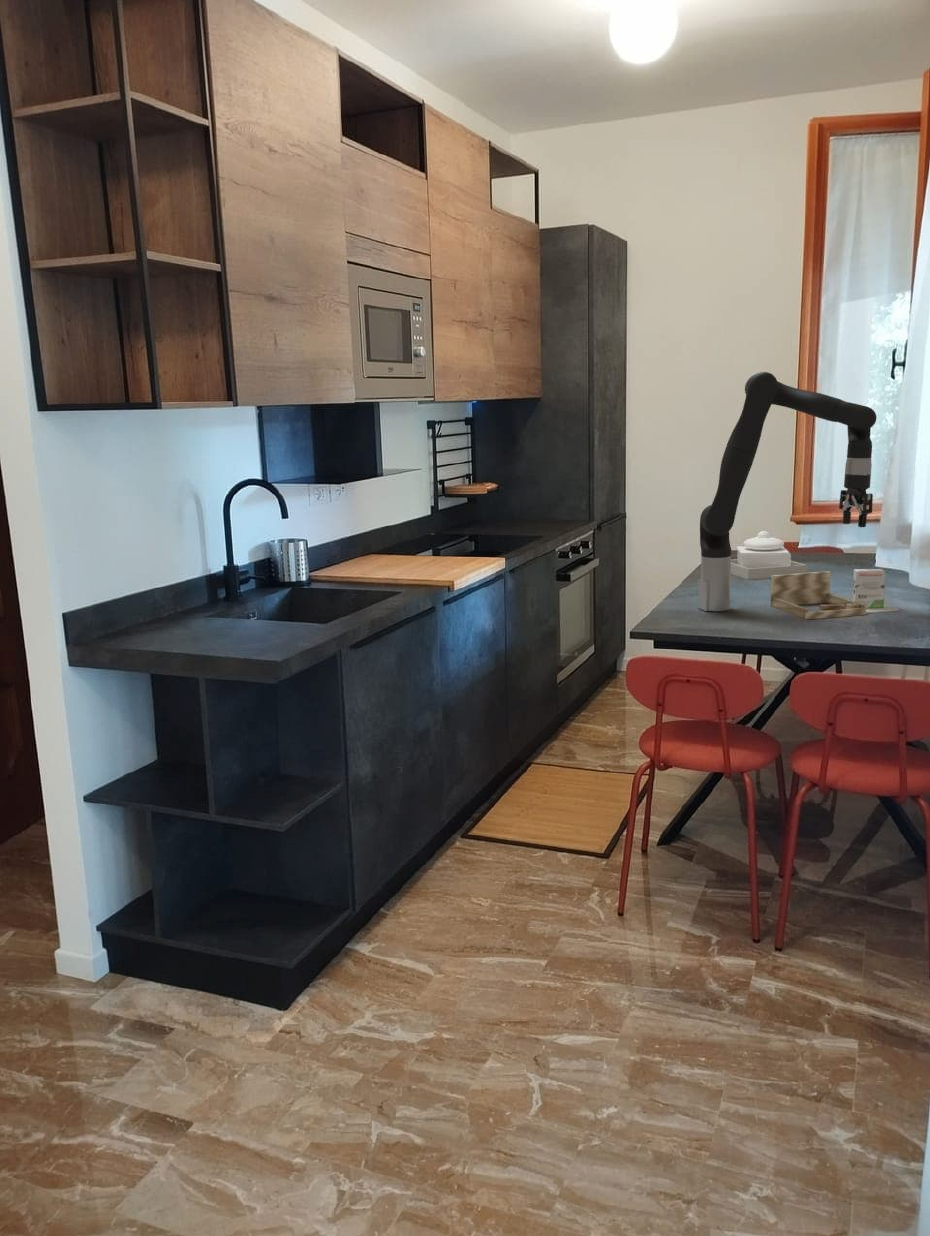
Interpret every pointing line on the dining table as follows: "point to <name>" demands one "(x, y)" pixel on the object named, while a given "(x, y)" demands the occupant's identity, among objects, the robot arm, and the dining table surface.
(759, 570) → the square grey tray
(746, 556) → the white lidded dish
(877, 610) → the felt mat
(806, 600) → the rack
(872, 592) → the ink box
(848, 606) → the maple offcut
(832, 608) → the walnut offcut
